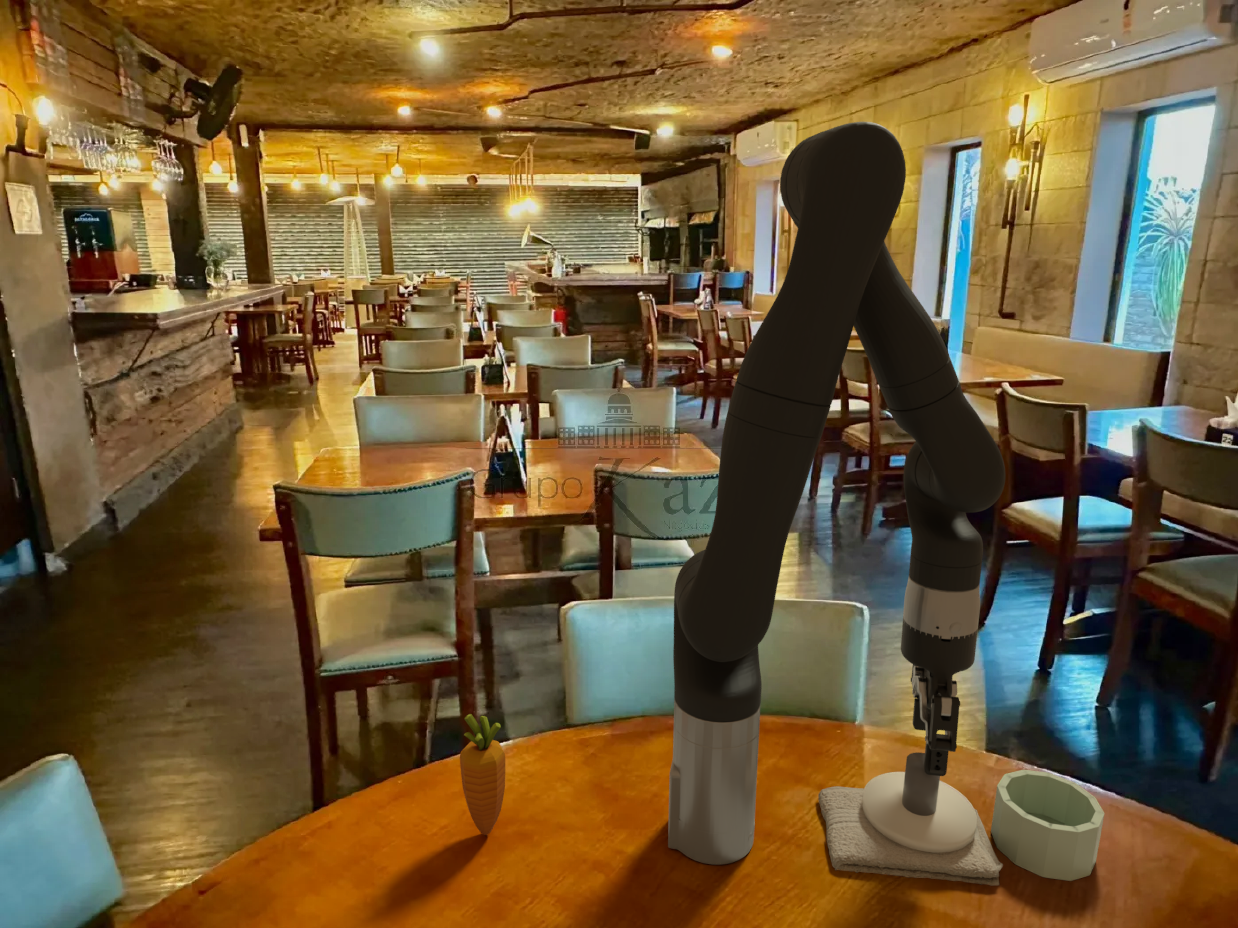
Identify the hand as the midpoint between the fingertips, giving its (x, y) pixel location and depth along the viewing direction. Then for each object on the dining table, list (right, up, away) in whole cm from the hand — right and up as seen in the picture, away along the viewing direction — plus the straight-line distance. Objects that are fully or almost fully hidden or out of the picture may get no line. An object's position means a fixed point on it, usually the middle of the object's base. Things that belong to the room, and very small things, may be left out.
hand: (928, 750), depth 89 cm
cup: (+12, -10, -2) cm, 16 cm away
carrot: (-50, -10, 0) cm, 51 cm away
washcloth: (-3, -11, 0) cm, 11 cm away
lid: (-1, -7, 0) cm, 7 cm away
